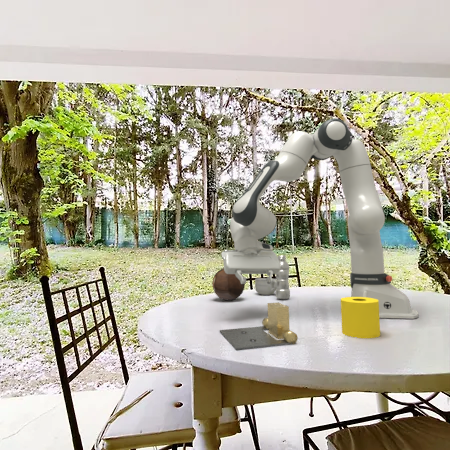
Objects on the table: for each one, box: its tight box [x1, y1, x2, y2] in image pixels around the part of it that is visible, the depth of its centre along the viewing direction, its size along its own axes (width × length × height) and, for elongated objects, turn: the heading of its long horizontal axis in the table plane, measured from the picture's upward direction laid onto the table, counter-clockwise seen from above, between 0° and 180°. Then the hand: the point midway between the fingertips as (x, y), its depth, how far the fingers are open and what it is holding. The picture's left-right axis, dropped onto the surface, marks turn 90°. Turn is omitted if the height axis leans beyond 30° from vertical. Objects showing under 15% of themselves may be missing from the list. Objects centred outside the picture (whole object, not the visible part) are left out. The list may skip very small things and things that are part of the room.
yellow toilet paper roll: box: [340, 296, 381, 339], centre depth 95 cm, size 10×10×9 cm
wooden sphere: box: [211, 267, 246, 301], centre depth 154 cm, size 15×15×15 cm
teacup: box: [254, 277, 277, 296], centre depth 167 cm, size 14×11×8 cm
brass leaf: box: [266, 301, 291, 340], centre depth 95 cm, size 7×4×8 cm, turn 15°
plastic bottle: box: [274, 254, 291, 301], centre depth 153 cm, size 6×7×20 cm
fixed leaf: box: [219, 317, 299, 351], centre depth 93 cm, size 18×16×3 cm
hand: (257, 282), depth 112 cm, fingers open, 8 cm apart
